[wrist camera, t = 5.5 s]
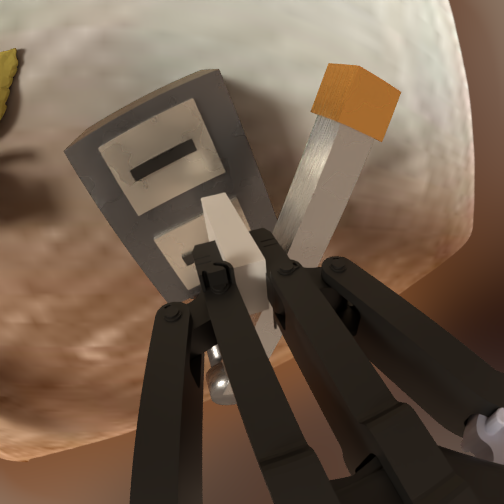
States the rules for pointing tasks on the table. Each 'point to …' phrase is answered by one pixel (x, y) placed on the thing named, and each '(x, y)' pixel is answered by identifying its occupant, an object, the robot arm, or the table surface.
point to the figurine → (6, 76)
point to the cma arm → (322, 182)
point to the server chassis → (171, 175)
